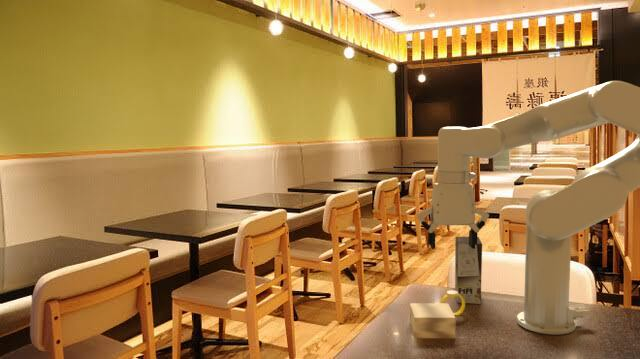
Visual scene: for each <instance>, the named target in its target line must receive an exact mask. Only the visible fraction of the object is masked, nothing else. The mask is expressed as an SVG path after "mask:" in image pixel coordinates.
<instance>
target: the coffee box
mask: <svg viewBox="0 0 640 359" xmlns="http://www.w3.org/2000/svg"><path fill="white" fill-rule="evenodd" d="M454 242H455V245H454V246H455V249H454V250H455V251H454V253H455V254H454V257H455V260H454V261H455V262H454V264H455V265H454V266H455V267H454V269H455V270H454V274H455V276H454V279H455V282H454V283H455V284H454V285H455V286H454V291H457V292H458V294H460V295H461V296H462V297H463V299H464V300H465V304H477V305H481V303H482V270H483V268H482V266H483V265H482V264H483V243H482V241H481V239H480V237H479V236H477V245H475V249H472V248H471V247H470V246H469V236H455V240H454ZM455 299H456V303H458V304H459V303H460V304H462V300H461V298H460V297H459V296H456V297H455Z"/></svg>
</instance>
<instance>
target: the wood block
mask: <svg viewBox="0 0 640 359" xmlns="http://www.w3.org/2000/svg"><path fill="white" fill-rule="evenodd" d="M453 313H454V312H453V310H452V308H451V307H450V304H449V302H447V303H446V302H444V303H441V302H438V303H437V302H436V303H435V302H433V303H431V302H429V303H428V302H427V303H425V302H424V303H423V302H418V303H415V302H413V303H412V302H411V303H409V324H410V328H411V332H412V334H413V337H414V339H456V322H457V321H456V319H457V318H456V316H454V314H453Z"/></svg>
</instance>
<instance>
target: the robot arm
mask: <svg viewBox="0 0 640 359" xmlns="http://www.w3.org/2000/svg"><path fill="white" fill-rule="evenodd" d="M607 124H612V125H614V126H617V127H619V128H621V129H624V130H626V131H629V132H631V133H634V134H636V137H635V139H634V141H633V142H631V143H630V144H629V145H628V146H627V147H625V148H624V149H623V150H620V151H619V152H618V153H615V154H614V155H611V156H610V157H608V158H606V159H603V161H600V162H598V163H596V164H595V165H593V166H590V167H588V168H585V169H584V170H582V171H580V172H579V173H578V174H577V175H576V176H575V177H574V179H573V180H572V182H571V183H570V184H568V185H566V186H564V187H562V188H560V189H558V190H552V189H543V190H541V191H538V192H536V193H535V194H533V195H532V196H531V197H530V199H529V200H528V202H527V204H526V207H525V258H524V260H525V263H524V265H525V266H524V298H523V301H524V302H523V303H524V306H523V311H522V312H519V313H517V315H516V322H517V324H518V325H520V326H521V327H523V328H524V329H525V330H528V331H531V332H534V333H538V334H542V335H543V334H544V335H560V336H561V335H566V334H570V333H573V332H574V331H575V330H576V322H575V321H576V320H577V319H590V318H591V312H590V310H589V309H580V308H579V306H577V307H576V306H573V307H571V306H569V304H570V280H571V279H570V278H571V256H572V255H571V254H572V236H573V235H576V234H578V233H580V232H582V231H584V230H586V229H587V228H591V227H593V226H594V225H596V224H598V223H600V222H602V221H604V220H606V219H609V218H610V217H612V216H613V215H615V214H617V213H618V212H619V211H620V210H621V209H622V208H623V207H624V205H625V204H626V202H627V201H628V196H629V194H631V193H632V192H634V191H636V190H638V189H639V188H640V87H639V86H637V85H634V84H632V83H629V82H625V81H622V80H610V81H607V82H604V83H601V84H598V85H594V86H591V87H587V88H586V89H583V90H580V91H577V92H574V93H571V94H568V95H565V96H562V97H559V98H556V99H553V100H550V101H548V102H547V101H546V102H544V103H542V104H539V105H536V106H535V107H533V108H531V109H529V110H526V111H524V112H522V113H519V114H516V115H513V116H510V117H507V118H505V119H504V118H503V119H502V120H498V121H495V122H493V123H489V124H487V125H483V126H476V127H466V126H444V127H441V128H440V129H439V130H438V133H437V182H434V183H433V185H432V192H431V200H430V207H428V208H426V209H424V210H422V211H419V212H418V213H417V214H416V218H417V219H418V221H419V223H420V225H421V226H422V228H424V229H425V230H426V232H427V245H428V246H429V247H430V248H431V249H432V250H435V249H436V232H435V230H437V228H438V227H439V226H468V227H469V228H470V229H469V231H468V237H469V246H470V247H471V248H472V249H475V245H477V237H478V233H479V232H480V231H481V229H482V228H483V227H484V226H485V225H486V222H487V221H488V219H489V217H490V214H489V213H488V212H486V211H483V210H482V209H479V208H478V207H476V204H475V203H476V202H475V193H474V186H473V184H472V183H471V181H472V180H475V179H476V178H477V174H476V172H475V173H474V172H471V169H470V168H471V157H473V158H478V159H484V160H485V159H487V160H488V159H493V158H496V157H498V155H500V154H501V153H503V152H506V151H509V150H513V149H516V148H519V147H523V146H526V145H531V144H534V143H539V142H550V141H555V140H558V139H561V138H565V137H569V136H571V135H574V134H577V133H581V132H584V131H587V130H591V129H593V128H598V127H600V126H604V125H607ZM476 214H477V215H479V216H480V219H479V220H478V221H477V222H475V221H476ZM429 215H430V222H429V223H427V222H426V219H425V218H426V217H427V216H429Z"/></svg>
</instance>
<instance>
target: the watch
mask: <svg viewBox="0 0 640 359" xmlns="http://www.w3.org/2000/svg"><path fill="white" fill-rule="evenodd" d="M456 296H459V297H460V298H461V300H462V303H461V306H460V308H459V310H458V311H456V312H453V314H454V316H455V317H456V316H460V315H462V313H463V312H464V311H465V309H466V303H465V300H464V299H463V297H462V296H461V295H460V294H458V292H457V291H455V290H452V289H451V290H447V291H446V294H444V295H443V296H442V298H441V300H440V303H446V301H447V299H449V297H452V298H456Z"/></svg>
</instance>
